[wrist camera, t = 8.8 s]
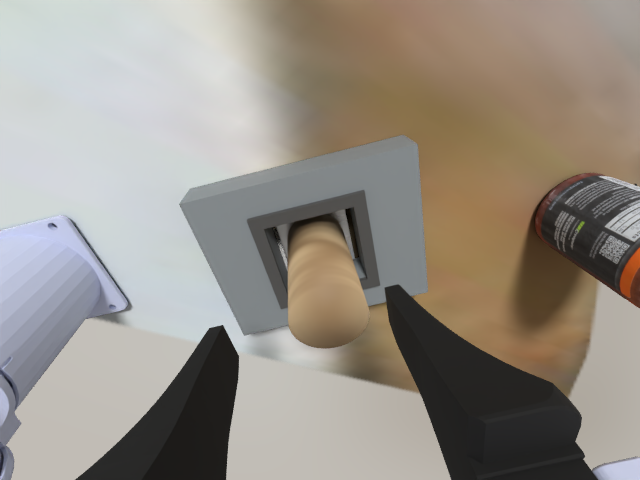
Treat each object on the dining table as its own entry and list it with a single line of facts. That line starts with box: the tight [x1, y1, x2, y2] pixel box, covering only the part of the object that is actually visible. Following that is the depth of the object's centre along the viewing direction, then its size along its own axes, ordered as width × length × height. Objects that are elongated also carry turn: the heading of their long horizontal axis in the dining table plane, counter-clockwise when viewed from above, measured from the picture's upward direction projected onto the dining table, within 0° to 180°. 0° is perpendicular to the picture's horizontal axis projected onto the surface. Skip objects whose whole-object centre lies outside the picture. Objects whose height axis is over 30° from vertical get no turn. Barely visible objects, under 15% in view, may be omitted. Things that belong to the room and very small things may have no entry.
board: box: [179, 135, 428, 336], centre depth 22 cm, size 14×11×3 cm
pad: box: [276, 209, 355, 260], centre depth 23 cm, size 5×5×1 cm
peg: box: [287, 214, 370, 348], centre depth 19 cm, size 4×4×8 cm
